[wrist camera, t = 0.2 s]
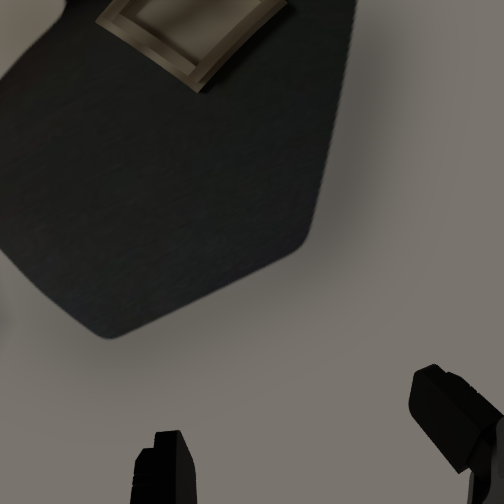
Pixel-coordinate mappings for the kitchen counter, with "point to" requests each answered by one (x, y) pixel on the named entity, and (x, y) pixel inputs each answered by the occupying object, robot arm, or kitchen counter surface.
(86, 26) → the kitchen counter surface
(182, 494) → the robot arm
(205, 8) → the tray
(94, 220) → the kitchen counter surface
